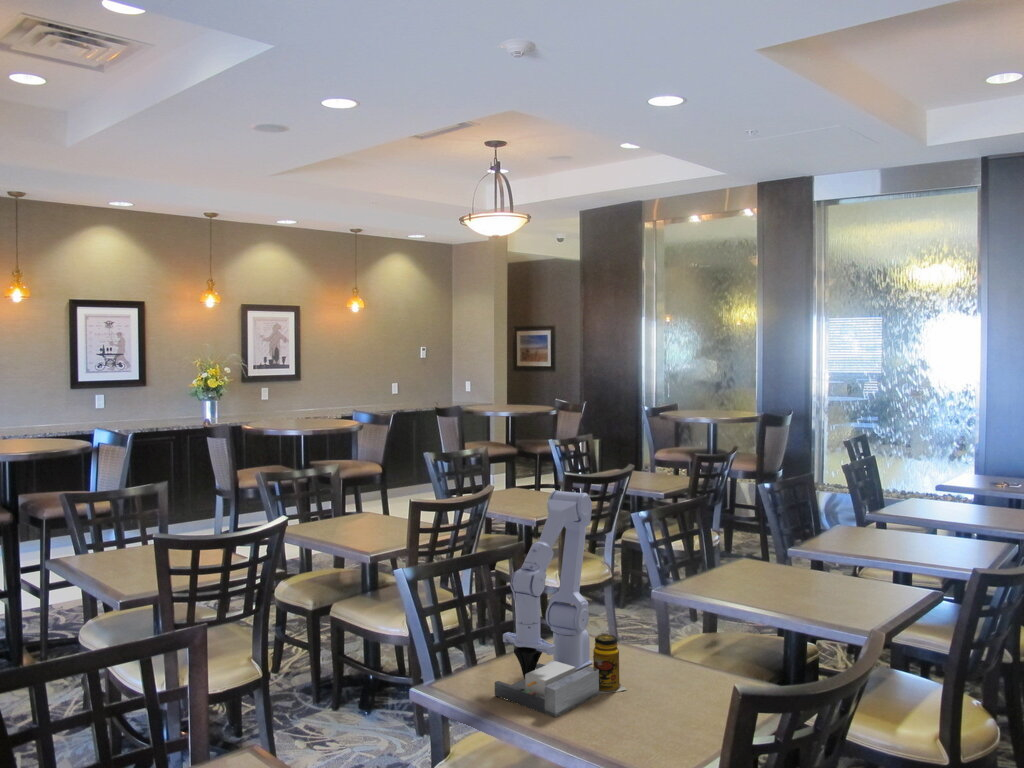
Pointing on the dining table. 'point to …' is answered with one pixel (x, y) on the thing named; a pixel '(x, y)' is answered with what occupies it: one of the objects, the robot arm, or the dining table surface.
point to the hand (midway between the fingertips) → (528, 678)
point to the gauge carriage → (547, 676)
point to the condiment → (607, 663)
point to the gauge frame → (554, 692)
